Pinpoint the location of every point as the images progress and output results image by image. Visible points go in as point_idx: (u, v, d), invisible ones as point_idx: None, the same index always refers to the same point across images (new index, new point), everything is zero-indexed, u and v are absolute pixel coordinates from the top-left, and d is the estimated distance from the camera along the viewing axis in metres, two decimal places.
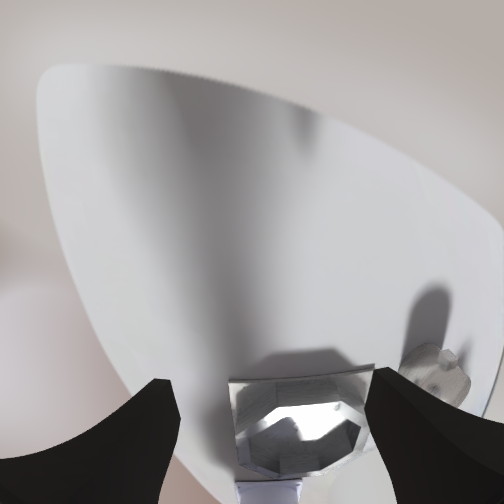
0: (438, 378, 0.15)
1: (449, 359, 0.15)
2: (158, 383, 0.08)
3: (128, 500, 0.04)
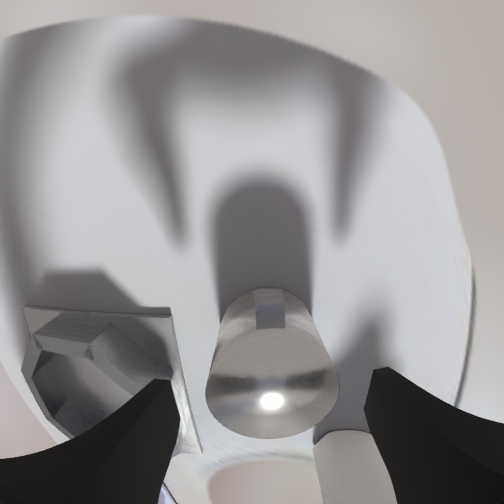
0: (233, 340, 0.09)
1: (259, 302, 0.09)
2: (158, 383, 0.08)
3: (128, 500, 0.04)
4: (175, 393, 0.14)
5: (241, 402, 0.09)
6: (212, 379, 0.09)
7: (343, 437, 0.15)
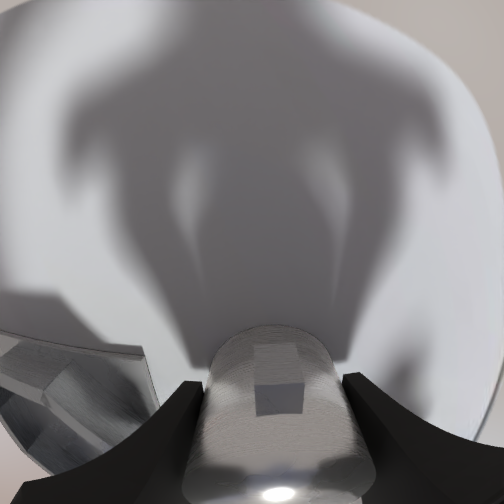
0: (219, 429, 0.05)
1: (260, 378, 0.05)
2: (190, 385, 0.08)
3: None
4: None
5: (233, 501, 0.05)
6: (189, 480, 0.04)
7: None
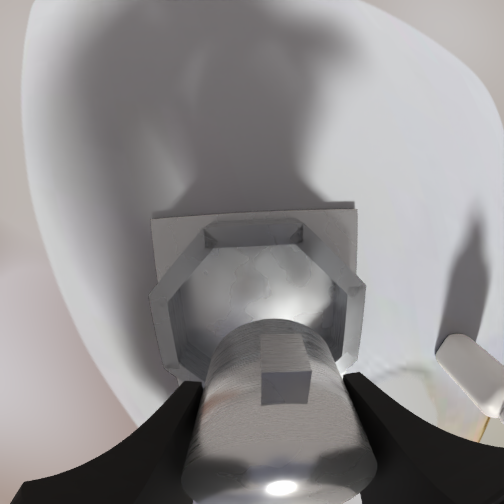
0: (223, 418, 0.05)
1: (268, 366, 0.05)
2: (190, 385, 0.08)
3: None
4: None
5: (233, 494, 0.05)
6: (190, 471, 0.04)
7: (460, 337, 0.16)
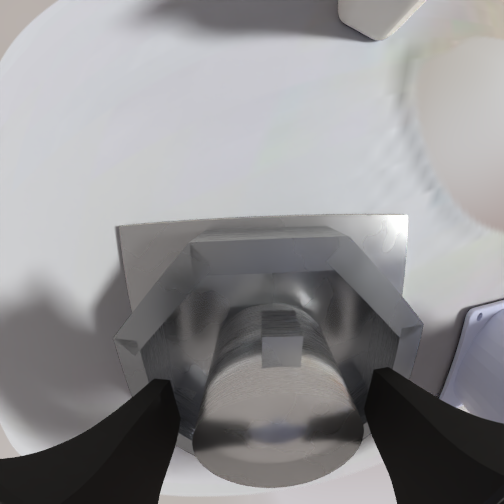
0: (230, 380, 0.07)
1: (267, 332, 0.07)
2: (158, 383, 0.08)
3: (128, 500, 0.04)
4: (233, 230, 0.10)
5: (237, 454, 0.06)
6: (201, 429, 0.06)
7: None
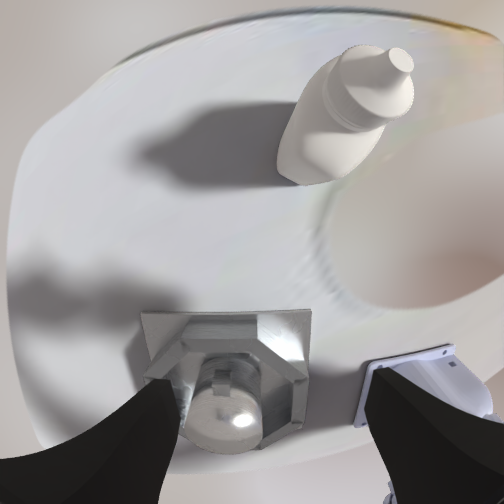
0: (200, 400, 0.14)
1: (214, 382, 0.14)
2: (158, 383, 0.08)
3: (128, 500, 0.04)
4: (204, 323, 0.18)
5: (204, 433, 0.14)
6: (187, 421, 0.14)
7: None
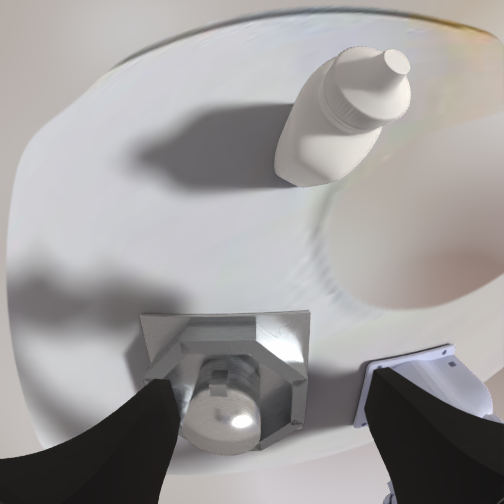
0: (197, 401, 0.14)
1: (211, 382, 0.14)
2: (158, 383, 0.08)
3: (128, 500, 0.04)
4: (203, 325, 0.18)
5: (202, 434, 0.14)
6: (185, 421, 0.14)
7: (275, 155, 0.15)
